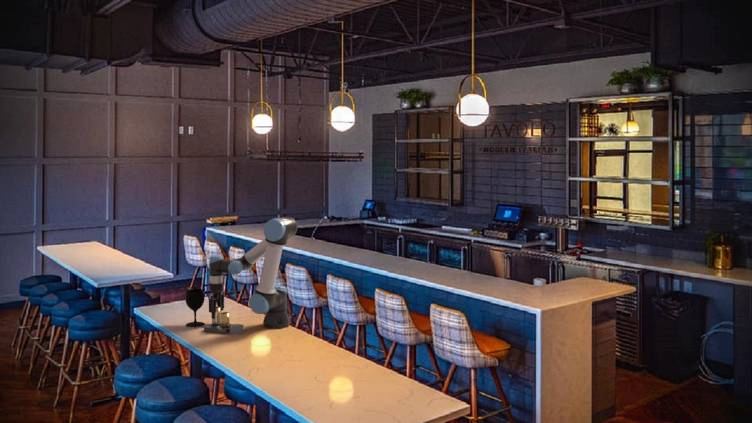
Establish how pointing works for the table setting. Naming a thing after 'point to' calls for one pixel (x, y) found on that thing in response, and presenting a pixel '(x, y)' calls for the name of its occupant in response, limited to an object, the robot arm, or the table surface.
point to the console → (236, 329)
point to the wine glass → (194, 304)
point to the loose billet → (218, 314)
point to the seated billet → (225, 320)
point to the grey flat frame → (217, 328)
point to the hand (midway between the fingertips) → (216, 322)
